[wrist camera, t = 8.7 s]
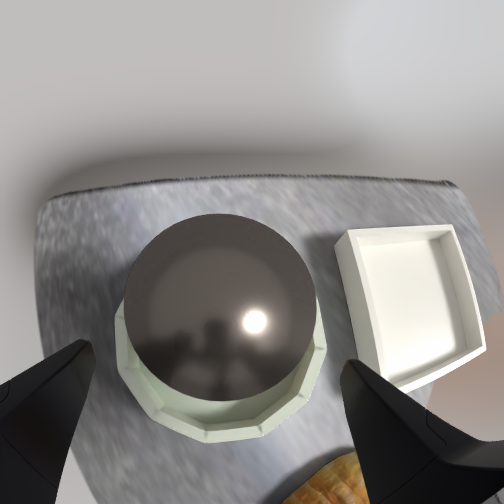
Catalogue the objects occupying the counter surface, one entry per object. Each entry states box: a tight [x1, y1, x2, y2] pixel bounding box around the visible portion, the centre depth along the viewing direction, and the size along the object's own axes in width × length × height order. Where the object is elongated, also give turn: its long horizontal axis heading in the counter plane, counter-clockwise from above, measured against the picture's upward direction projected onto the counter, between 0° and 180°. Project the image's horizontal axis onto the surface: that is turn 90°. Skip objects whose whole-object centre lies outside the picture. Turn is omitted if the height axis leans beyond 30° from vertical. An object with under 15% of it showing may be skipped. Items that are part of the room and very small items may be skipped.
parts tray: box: [334, 224, 486, 393], centre depth 20 cm, size 13×13×3 cm
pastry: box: [282, 451, 370, 504], centre depth 13 cm, size 9×7×4 cm
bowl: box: [115, 296, 327, 443], centre depth 18 cm, size 13×13×3 cm
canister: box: [124, 214, 317, 402], centre depth 13 cm, size 5×5×12 cm
